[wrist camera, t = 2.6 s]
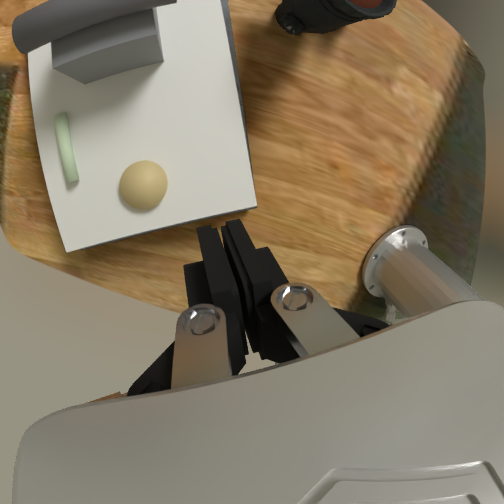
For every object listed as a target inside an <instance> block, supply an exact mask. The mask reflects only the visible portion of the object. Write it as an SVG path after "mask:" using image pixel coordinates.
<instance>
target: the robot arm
mask: <svg viewBox="0 0 504 504" xmlns="http://www.w3.org/2000/svg"><path fill="white" fill-rule="evenodd" d="M221 232H222V238H223V244H224V247H223V244H222V241H221V238H220V236H219V233H218V230H217V227H216V228H211V225H208V226H203V227H198V228H197V233H198V238H199V243H200V248H201V252H202V257H203V261H200V262H195V263H191V264H186V265H183V266H184V275H185V283H186V290H187V297H188V304H189V308H188V309H186V310H185V311H184V312H182V314H181V315H180V316H179V318H178V321H177V326H176V335H175V341H174V342H173V343H172V344H171V345H170V346H169V347H168V348H167V349H166V350H165V351H164V352H163V353H162V354H161V356H159V358H157V360H156V361H155V362H154V363H153V364H152V365H151V366H150V367H149V368H148V369H147V370H146V371H145V372H144V373H143V374H142V375H141V376H140V377H139V378H138V379H137V380H136V381H135V382H134V383H133V385H132V386H131V387H130V389H129V391H128V392H127V393H125V394H121V393H120V392H117V393H114V394H111V395H108V396H105V397H102V398H99V399H96V400H93V401H90V402H87V403H84V404H81V405H76V406H71V407H68V408H65V409H62V410H59V411H56V412H54V413H51V414H49V415H47V416H45V417H43V418H41V419H39V420H38V421H36V422H35V423H34V424H32V425H31V426H30V427H29V428H28V429H27V430H26V431H25V433H24V435H23V437H22V439H21V442H20V444H19V448H18V451H17V456H16V461H15V467H14V475H13V488H12V504H504V308H502V307H501V306H499V305H498V304H496V303H494V302H491V301H487V300H484V299H483V298H482V297H481V296H480V295H479V294H478V293H477V292H476V291H475V290H474V289H473V288H471V287H470V286H469V285H468V284H467V283H466V282H465V281H464V280H463V279H462V278H461V277H459V276H458V275H457V274H456V273H455V272H454V271H453V270H452V269H450V268H449V267H448V266H447V265H446V264H445V263H443V262H442V261H441V260H440V259H439V258H438V257H436V256H435V255H434V254H433V253H432V252H430V251H429V250H428V243H427V239H426V237H425V235H424V234H423V233H422V232H421V231H420V230H419V229H417V228H416V227H414V226H411V225H403V226H398V227H396V228H394V229H392V230H390V231H388V232H387V233H385V234H384V235H383V236H382V237H381V238H379V240H378V241H377V242H376V243H375V244H374V245H373V247H372V248H371V250H370V251H369V253H368V255H367V257H366V259H365V262H364V264H363V269H362V281H363V284H364V286H365V288H366V289H367V290H368V291H369V293H370V294H372V295H373V296H376V297H382V298H384V299H385V300H386V301H385V304H386V306H387V307H386V310H385V314H384V319H385V320H387V321H391V322H390V324H387V323H385V322H383V321H381V320H378V319H374V318H371V317H367V316H363V315H359V314H356V313H352V312H348V311H344V310H341V309H337V308H333V307H331V306H330V305H329V304H328V303H327V302H326V301H325V299H324V298H323V297H322V296H321V295H320V294H319V293H318V292H317V291H316V290H315V289H314V288H312V287H311V286H309V285H306V284H303V283H289V281H288V280H287V278H286V276H285V275H284V273H283V271H282V269H281V268H280V266H279V264H278V263H277V261H276V259H275V258H274V256H273V254H272V253H271V251H270V249H269V248H268V247H264V248H259V249H255V247H254V245H253V243H252V241H251V239H250V237H249V235H248V233H247V231H246V230H245V228H244V226H243V224H242V222H241V220H240V219H237V220H232V221H227V222H226V226H221ZM396 309H397V310H398V311H399V313H400V314H401V315H402V316H403V317H404V318H403V319H397V320H394V319H395V315H396V311H397V310H396ZM245 331H246V334H247V337H248V340H249V343H250V346H251V348H252V351H253V353H255V352H259V354H260V357H261V359H262V360H264V359H268V360H271V361H274V362H275V365H273V366H270V367H266V368H263V369H259V370H255V371H251V372H247V373H243V374H240V375H238V373H239V372H240V370H241V369H242V368H243V366H244V365H245V364H246V359H245V355H248V354H249V352H248V346H247V340H246V334H245Z"/></svg>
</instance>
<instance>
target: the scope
mask: <svg viewBox="0 0 504 504" xmlns="http://www.w3.org/2000/svg"><path fill="white" fill-rule="evenodd" d="M396 1H397V0H282V3H281V4H280V5H279V6H278V7H277V9H276V19H277V21H278V23H279V25H280V26H281V27H282V28H283V29H285V30H287V31H286V32H287V33H289V34H294V35H299V34H301V32H308V33H320V34H324V33H328V32H332V31H335V30H336V29H338V28H340V27H342V26H345V25H349V24H352V23H355V22H359V21H362V20H367V19H376V18H381V17H384V15H389V14H390V13H391V12H392V10H393V8H395V5H396Z"/></svg>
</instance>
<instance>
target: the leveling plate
mask: <svg viewBox="0 0 504 504" xmlns="http://www.w3.org/2000/svg"><path fill="white" fill-rule="evenodd" d="M12 36H13V40H14V43H15V45H16V47H17V49H18V50H19V51H20V52H21V53H23V54H27V53H28V67H29V82H30V93H31V102H32V110H33V118H34V125H35V131H36V137H37V143H38V148H39V153H40V158H41V163H42V168H43V172H44V177H45V181H46V185H47V189H48V193H49V197H50V201H51V204H52V208H53V211H54V215H55V218H56V222H57V225H58V228H59V231H60V235H61V238H62V241H63V244H64V247H65V250H66V252H70V251H74V250H77V249H81V248H85V247H88V246H92V245H96V244H99V243H103V242H107V241H111V240H114V239H118V238H122V237H126V236H130V235H134V234H138V233H142V232H145V231H150V230H154V229H158V228H162V227H166V226H170V225H174V224H178V223H183V222H187V221H191V220H195V219H200V218H204V217H209V216H213V215H217V214H222V213H227V212H231V211H236V210H240V209H245V208H250V207H255V206H257V203H256V197H255V191H254V185H253V179H252V173H251V167H250V162H249V156H248V150H247V144H246V138H245V133H244V127H243V121H242V116H241V110H240V104H239V99H238V93H237V87H236V82H235V76H234V71H233V65H232V60H231V54H230V49H229V44H228V38H227V33H226V27H225V22H224V17H223V12H222V6H221V1H220V0H49V1H47V2H44V3H42V4H40V5H38V6H36V7H34V8H32V9H30V10H28V11H26V12H25V13H23V14H21V15H19V16H17V17H16V18H15V19H14V21H13V24H12Z"/></svg>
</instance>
